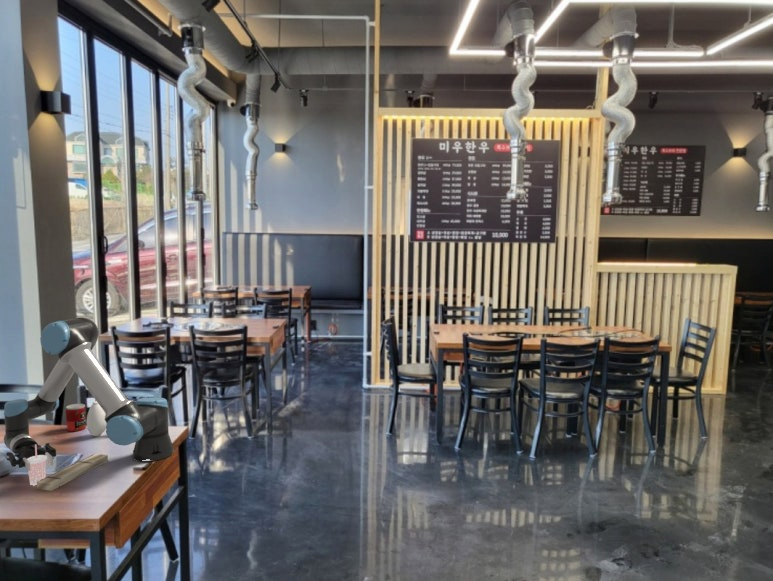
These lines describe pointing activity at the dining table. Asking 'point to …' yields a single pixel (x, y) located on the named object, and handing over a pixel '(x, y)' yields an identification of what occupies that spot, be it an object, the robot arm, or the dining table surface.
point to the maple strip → (71, 472)
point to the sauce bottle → (96, 420)
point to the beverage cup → (37, 468)
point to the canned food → (75, 417)
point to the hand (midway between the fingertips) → (40, 463)
